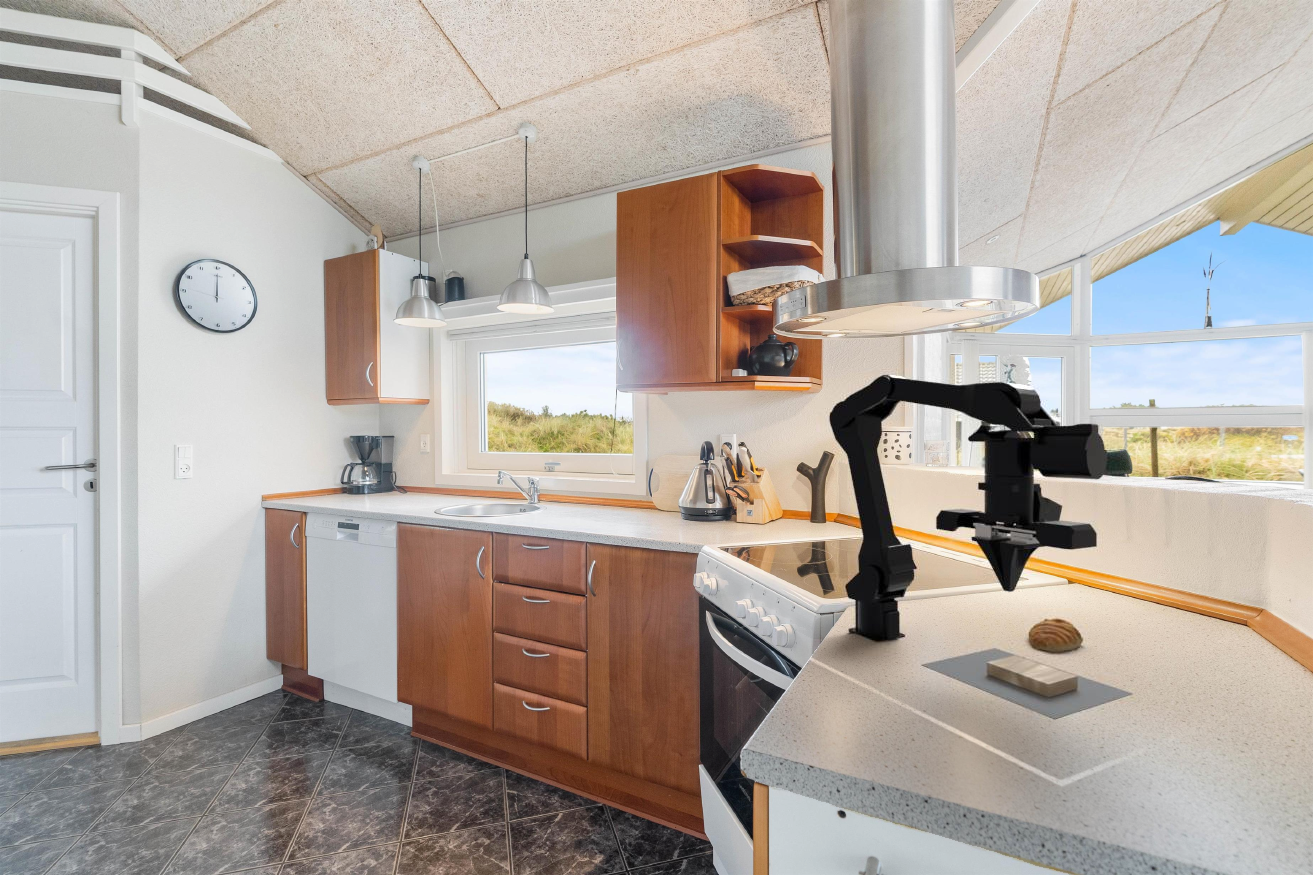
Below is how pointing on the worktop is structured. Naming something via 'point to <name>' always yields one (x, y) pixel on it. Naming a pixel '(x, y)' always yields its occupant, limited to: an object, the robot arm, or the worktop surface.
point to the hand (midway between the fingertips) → (1008, 590)
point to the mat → (975, 674)
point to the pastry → (1055, 635)
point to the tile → (1032, 676)
